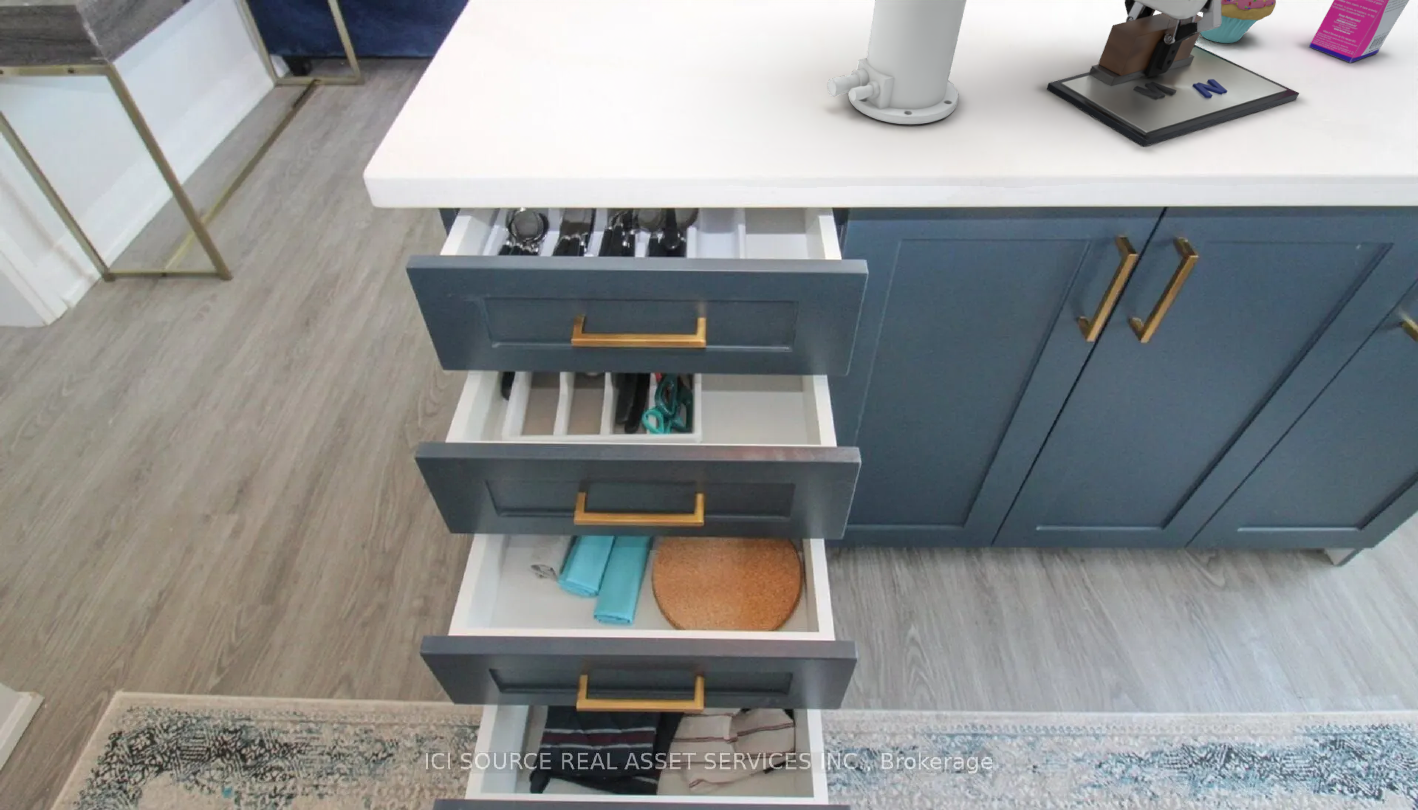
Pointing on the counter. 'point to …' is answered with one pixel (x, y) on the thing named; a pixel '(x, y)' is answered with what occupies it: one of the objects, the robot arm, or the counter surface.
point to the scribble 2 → (1209, 88)
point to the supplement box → (1356, 27)
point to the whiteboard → (1174, 98)
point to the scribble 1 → (1154, 90)
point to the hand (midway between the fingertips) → (1141, 65)
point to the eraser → (1137, 49)
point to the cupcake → (1238, 19)
